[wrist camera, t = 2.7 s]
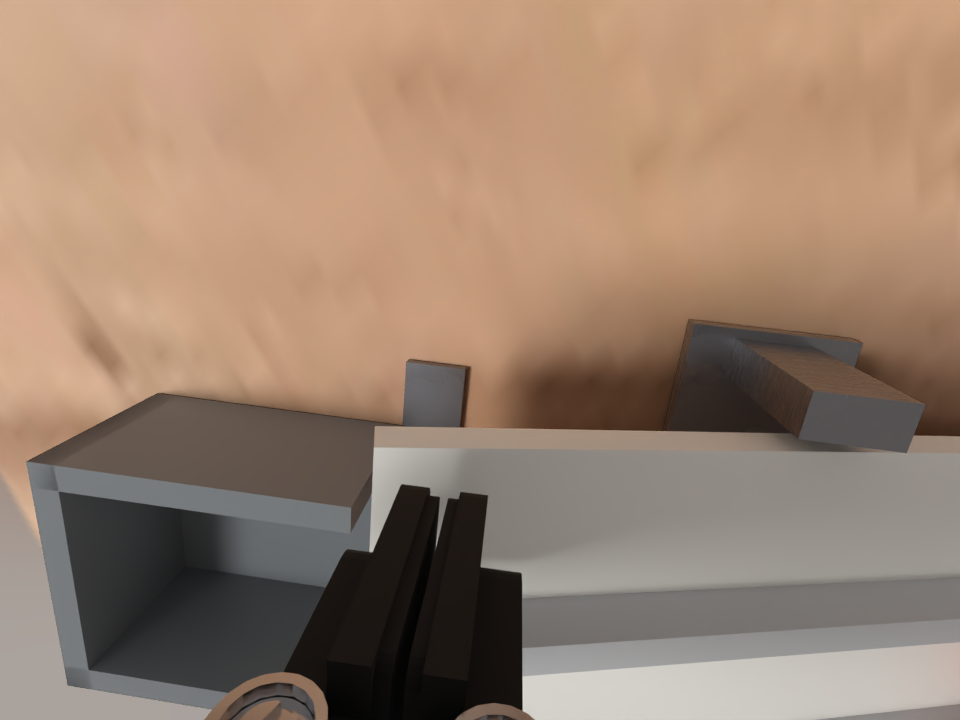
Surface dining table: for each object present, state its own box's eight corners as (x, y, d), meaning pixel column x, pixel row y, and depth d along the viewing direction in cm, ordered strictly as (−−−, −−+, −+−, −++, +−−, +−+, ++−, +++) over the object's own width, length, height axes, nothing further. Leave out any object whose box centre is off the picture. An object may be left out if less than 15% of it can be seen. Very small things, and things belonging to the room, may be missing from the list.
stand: (1153, 373, 16) (1443, 454, 11) (973, 715, 20) (1120, 886, 15) (413, 287, 17) (365, 322, 12) (392, 625, 21) (350, 755, 16)
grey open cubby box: (398, 425, 18) (351, 507, 13) (388, 605, 21) (344, 731, 16) (157, 393, 19) (26, 461, 14) (174, 572, 21) (67, 685, 16)
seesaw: (1114, 438, 16) (1236, 481, 13) (984, 688, 19) (1065, 757, 16) (375, 426, 11) (371, 484, 9) (360, 751, 14) (356, 855, 12)
